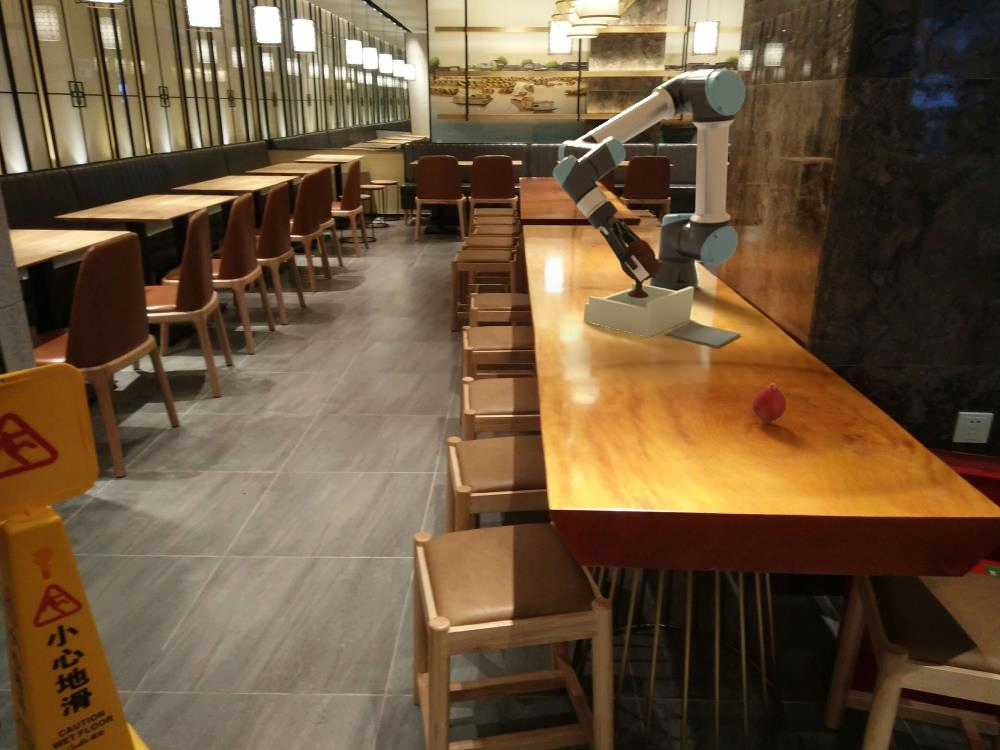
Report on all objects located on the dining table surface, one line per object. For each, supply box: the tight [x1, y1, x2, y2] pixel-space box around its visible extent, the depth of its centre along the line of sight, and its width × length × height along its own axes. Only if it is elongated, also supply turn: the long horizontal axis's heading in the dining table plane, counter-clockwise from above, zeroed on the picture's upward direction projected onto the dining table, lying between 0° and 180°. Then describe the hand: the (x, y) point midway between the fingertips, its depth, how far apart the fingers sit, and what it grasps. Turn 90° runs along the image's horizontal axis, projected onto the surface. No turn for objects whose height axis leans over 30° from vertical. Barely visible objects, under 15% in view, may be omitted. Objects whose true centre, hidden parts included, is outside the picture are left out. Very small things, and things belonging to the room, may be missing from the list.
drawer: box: [583, 282, 695, 338], centre depth 199 cm, size 23×19×9 cm
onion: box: [752, 383, 787, 424], centre depth 137 cm, size 6×6×8 cm
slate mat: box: [664, 322, 741, 349], centre depth 189 cm, size 14×14×1 cm
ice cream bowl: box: [619, 239, 663, 298], centre depth 195 cm, size 11×11×15 cm
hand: (650, 273), depth 195 cm, fingers closed on ice cream bowl, 11 cm apart
